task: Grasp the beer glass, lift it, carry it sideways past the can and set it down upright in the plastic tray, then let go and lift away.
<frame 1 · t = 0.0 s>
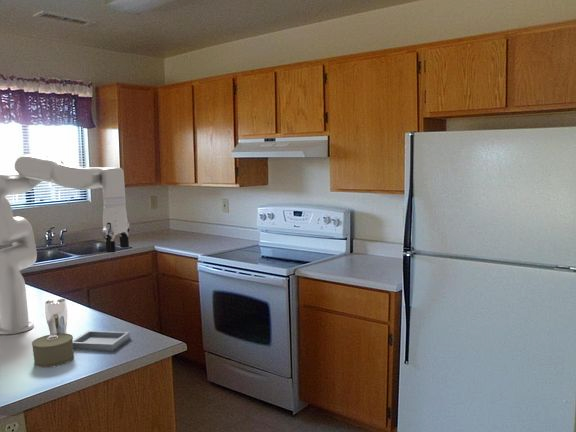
hand: (118, 249, 186), 31 cm above the counter, tool pointing down, fingers open, 9 cm apart
can: (54, 360, 167), on the counter
beer glass: (59, 342, 183), on the counter
tray: (100, 343, 180), on the counter
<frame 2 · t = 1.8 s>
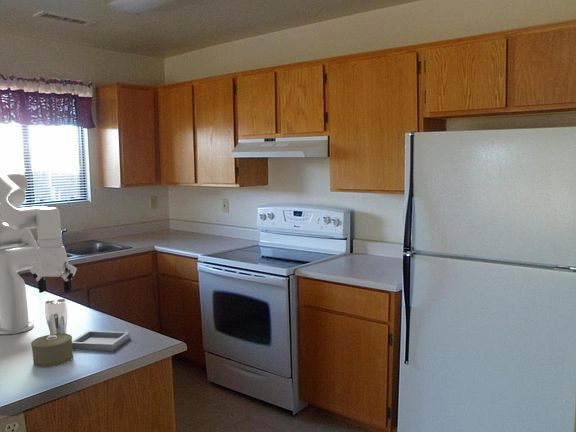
hand: (55, 291, 180), 18 cm above the counter, tool pointing down, fingers open, 9 cm apart
nothing on the counter moved.
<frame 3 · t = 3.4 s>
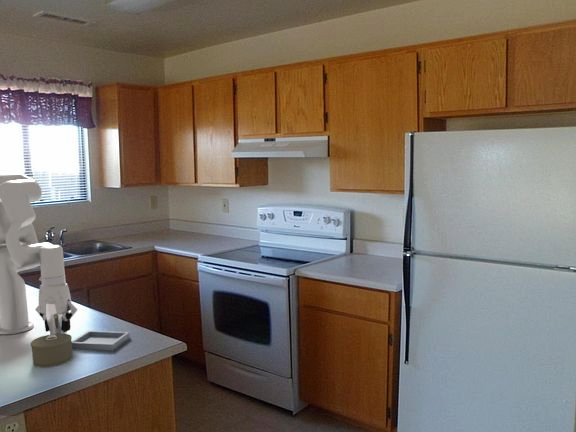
hand: (58, 330, 182), 4 cm above the counter, tool pointing down, fingers closed on beer glass, 6 cm apart
beer glass: (59, 342, 183), on the counter, touching gripper
everything else where it was.
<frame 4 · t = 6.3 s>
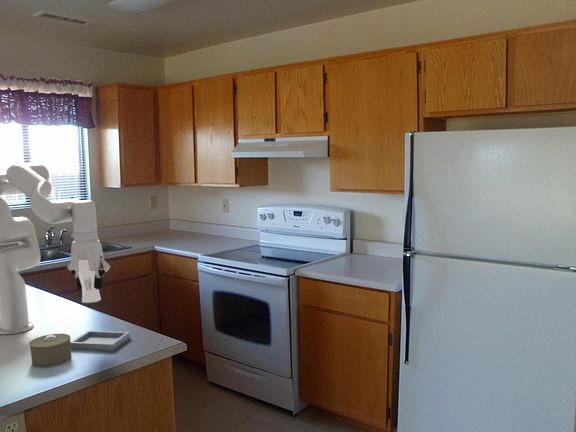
hand: (90, 288, 178), 20 cm above the counter, tool pointing down, fingers closed on beer glass, 6 cm apart
beer glass: (91, 301, 178), point 15 cm above the counter, touching gripper
everything else where it was.
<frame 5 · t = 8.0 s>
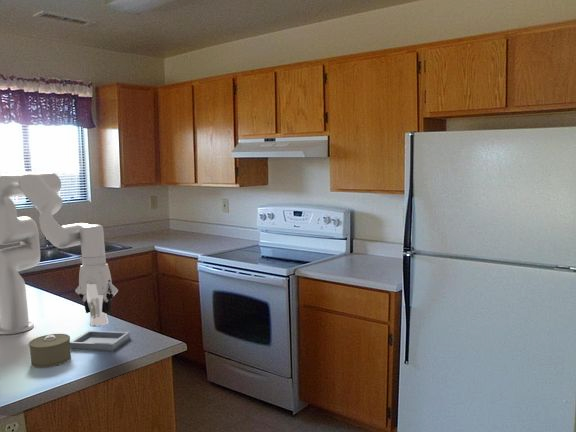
hand: (98, 311, 178), 12 cm above the counter, tool pointing down, fingers closed on beer glass, 6 cm apart
beer glass: (99, 324, 179), point 7 cm above the counter, touching gripper
everything else where it was.
when the fingers open (6 cm above the counter, at t = 9.4 s): beer glass drops 1 cm, resting on tray.
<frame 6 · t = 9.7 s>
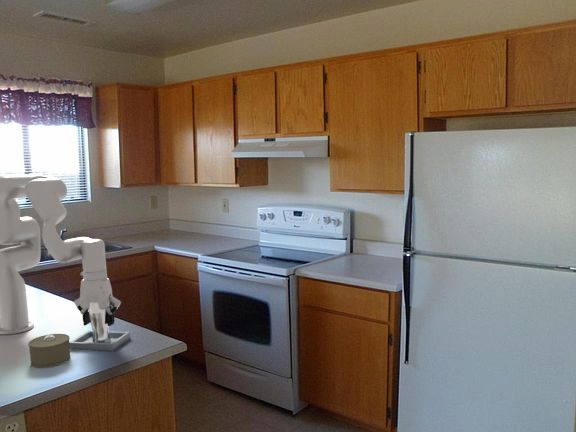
hand: (99, 324, 179), 7 cm above the counter, tool pointing down, fingers open, 8 cm apart
beer glass: (101, 342, 180), point 1 cm above the counter, touching tray
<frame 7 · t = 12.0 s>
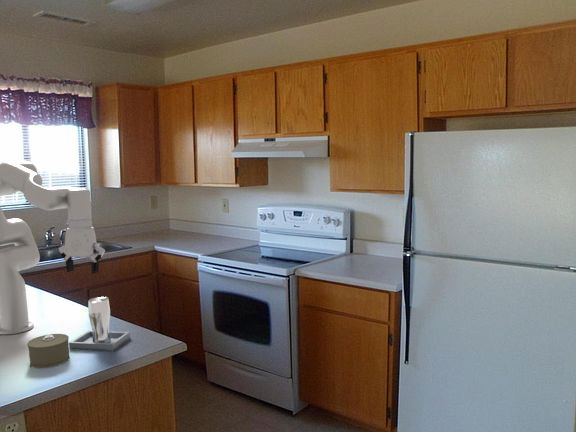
hand: (82, 271, 182), 24 cm above the counter, tool pointing down, fingers open, 9 cm apart
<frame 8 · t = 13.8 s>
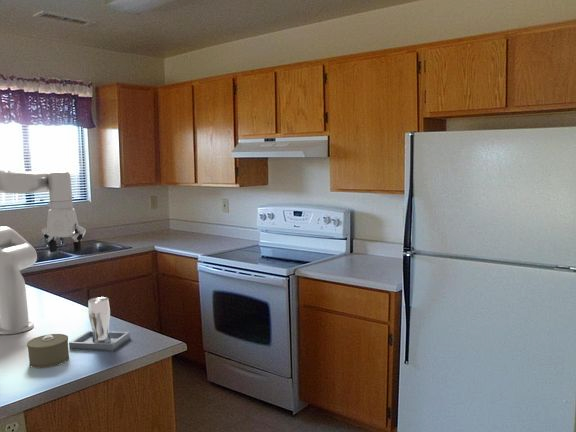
hand: (65, 251, 190), 30 cm above the counter, tool pointing down, fingers open, 9 cm apart
at the end: beer glass inside the target area on the tray (0.4 cm from its centre), point 0.6 cm above the tray's base; beer glass tilted 0°; the gripper is holding nothing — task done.
